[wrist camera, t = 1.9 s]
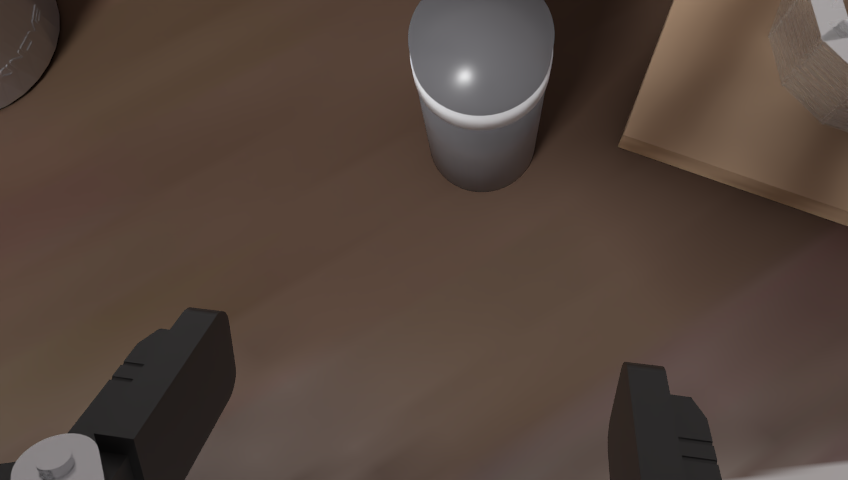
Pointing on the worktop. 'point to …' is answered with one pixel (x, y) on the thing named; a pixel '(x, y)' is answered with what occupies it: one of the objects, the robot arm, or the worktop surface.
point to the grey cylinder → (481, 85)
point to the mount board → (735, 110)
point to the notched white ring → (814, 56)
